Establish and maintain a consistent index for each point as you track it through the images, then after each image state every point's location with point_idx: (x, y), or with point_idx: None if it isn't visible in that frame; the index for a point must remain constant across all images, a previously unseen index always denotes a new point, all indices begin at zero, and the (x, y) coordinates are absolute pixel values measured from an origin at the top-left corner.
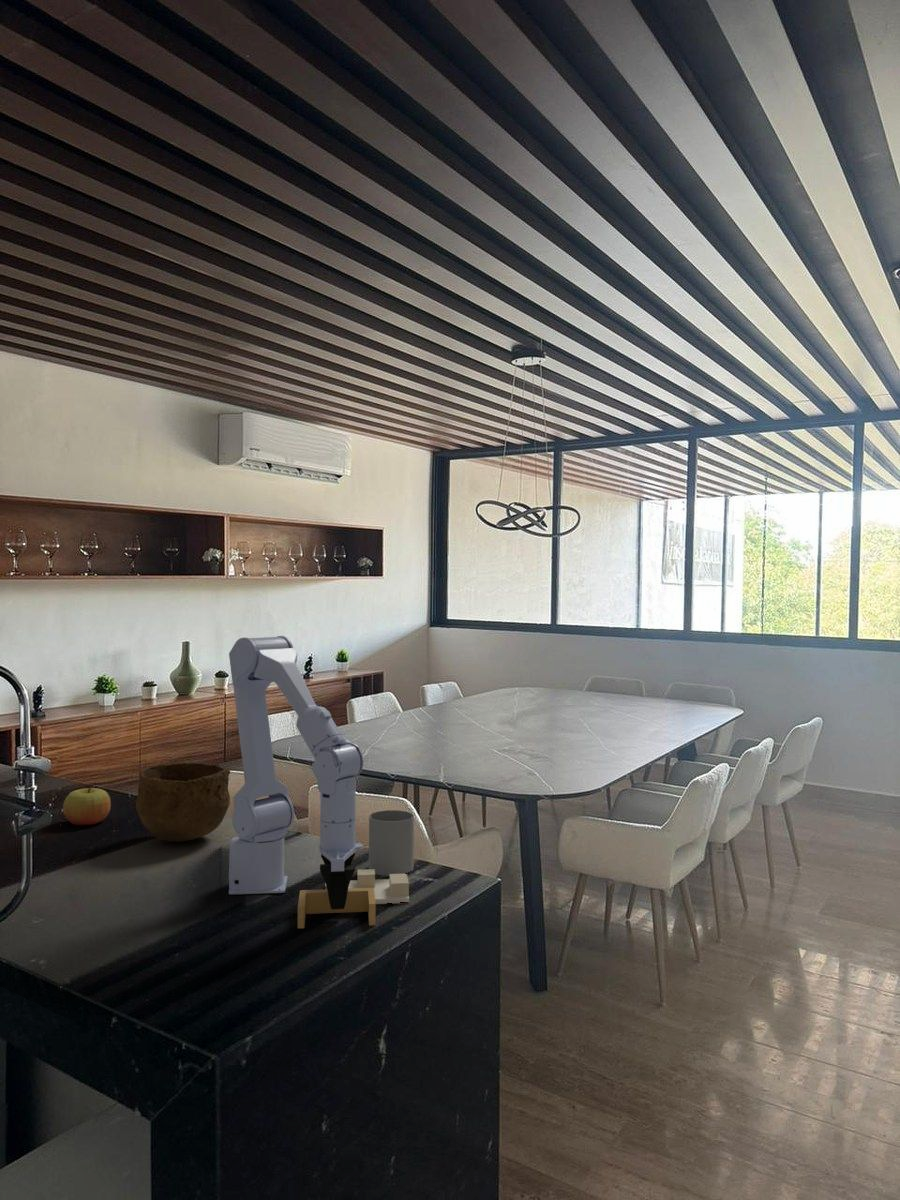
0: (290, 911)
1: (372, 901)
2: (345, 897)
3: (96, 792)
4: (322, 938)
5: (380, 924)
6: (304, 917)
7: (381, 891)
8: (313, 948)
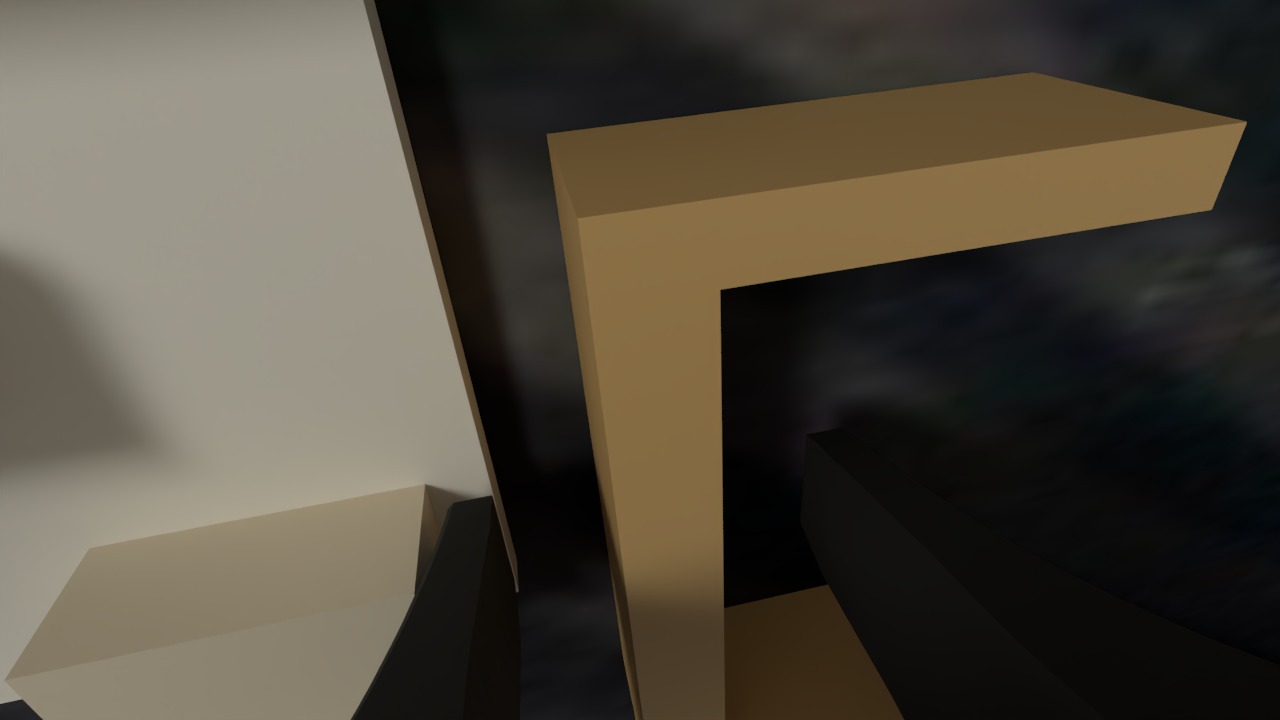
0: (628, 695)
1: (1150, 174)
2: (926, 493)
3: None
4: (1115, 435)
5: (1024, 14)
6: None
7: (9, 70)
8: (1229, 447)
